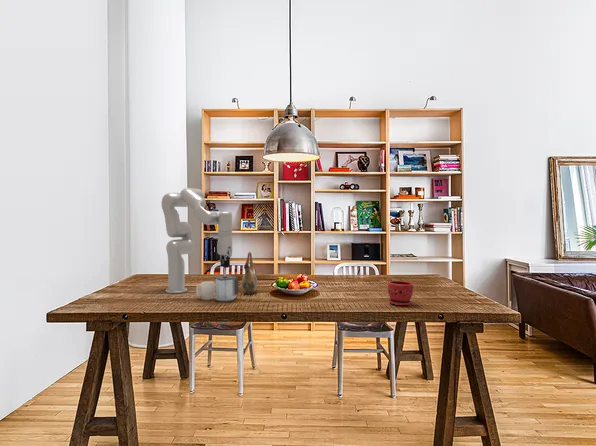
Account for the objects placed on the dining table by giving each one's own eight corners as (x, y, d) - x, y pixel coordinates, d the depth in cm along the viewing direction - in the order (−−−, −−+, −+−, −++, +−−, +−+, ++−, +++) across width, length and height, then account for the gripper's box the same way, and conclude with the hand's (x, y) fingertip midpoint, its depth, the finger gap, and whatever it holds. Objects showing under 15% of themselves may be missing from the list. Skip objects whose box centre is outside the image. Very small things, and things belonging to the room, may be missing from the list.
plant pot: (408, 308, 206) (409, 285, 206) (384, 305, 213) (384, 282, 213) (415, 303, 217) (416, 281, 217) (392, 300, 224) (392, 279, 224)
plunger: (217, 288, 223) (217, 258, 222) (227, 286, 226) (227, 258, 226) (222, 290, 217) (222, 260, 217) (233, 288, 221) (233, 259, 221)
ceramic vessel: (253, 296, 232) (253, 253, 231) (238, 295, 233) (238, 253, 232) (260, 290, 248) (260, 250, 247) (246, 290, 249) (246, 250, 248)
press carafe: (213, 299, 223) (213, 276, 223) (233, 296, 231) (233, 274, 230) (220, 302, 215) (220, 279, 215) (241, 299, 223) (241, 277, 222)
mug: (194, 298, 226) (194, 282, 226) (211, 296, 232) (211, 280, 232) (199, 300, 220) (199, 284, 219) (216, 298, 226) (216, 282, 225)
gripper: (212, 233, 225) (212, 265, 226) (225, 235, 212) (225, 269, 212) (224, 233, 230) (224, 264, 230) (238, 234, 216) (238, 268, 217)
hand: (225, 266), depth 221 cm, fingers closed on plunger, 3 cm apart
